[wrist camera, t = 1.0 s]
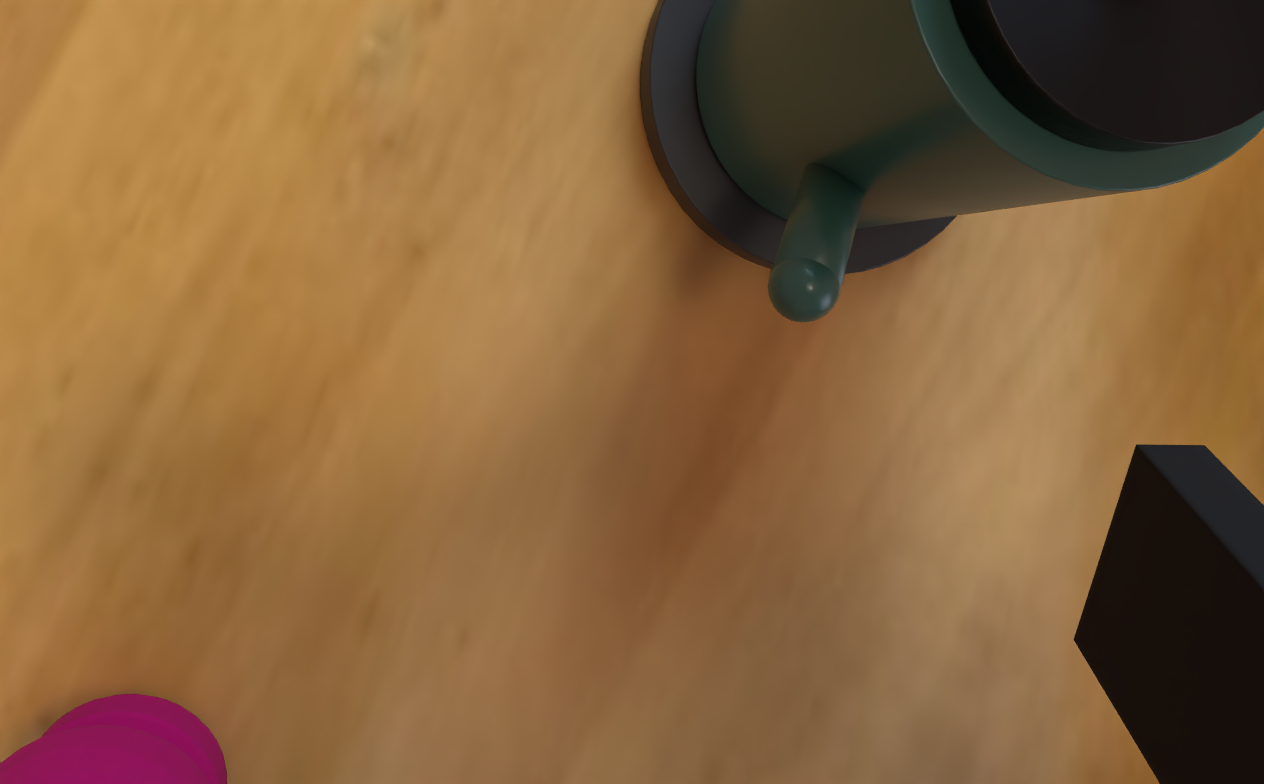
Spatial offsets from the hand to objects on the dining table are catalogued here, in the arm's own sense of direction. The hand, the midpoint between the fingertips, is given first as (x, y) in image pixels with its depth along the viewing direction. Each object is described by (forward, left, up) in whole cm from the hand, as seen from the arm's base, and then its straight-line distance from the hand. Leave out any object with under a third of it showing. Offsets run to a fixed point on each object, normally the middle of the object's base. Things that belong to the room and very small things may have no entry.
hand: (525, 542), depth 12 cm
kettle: (+11, -13, -24) cm, 29 cm away
